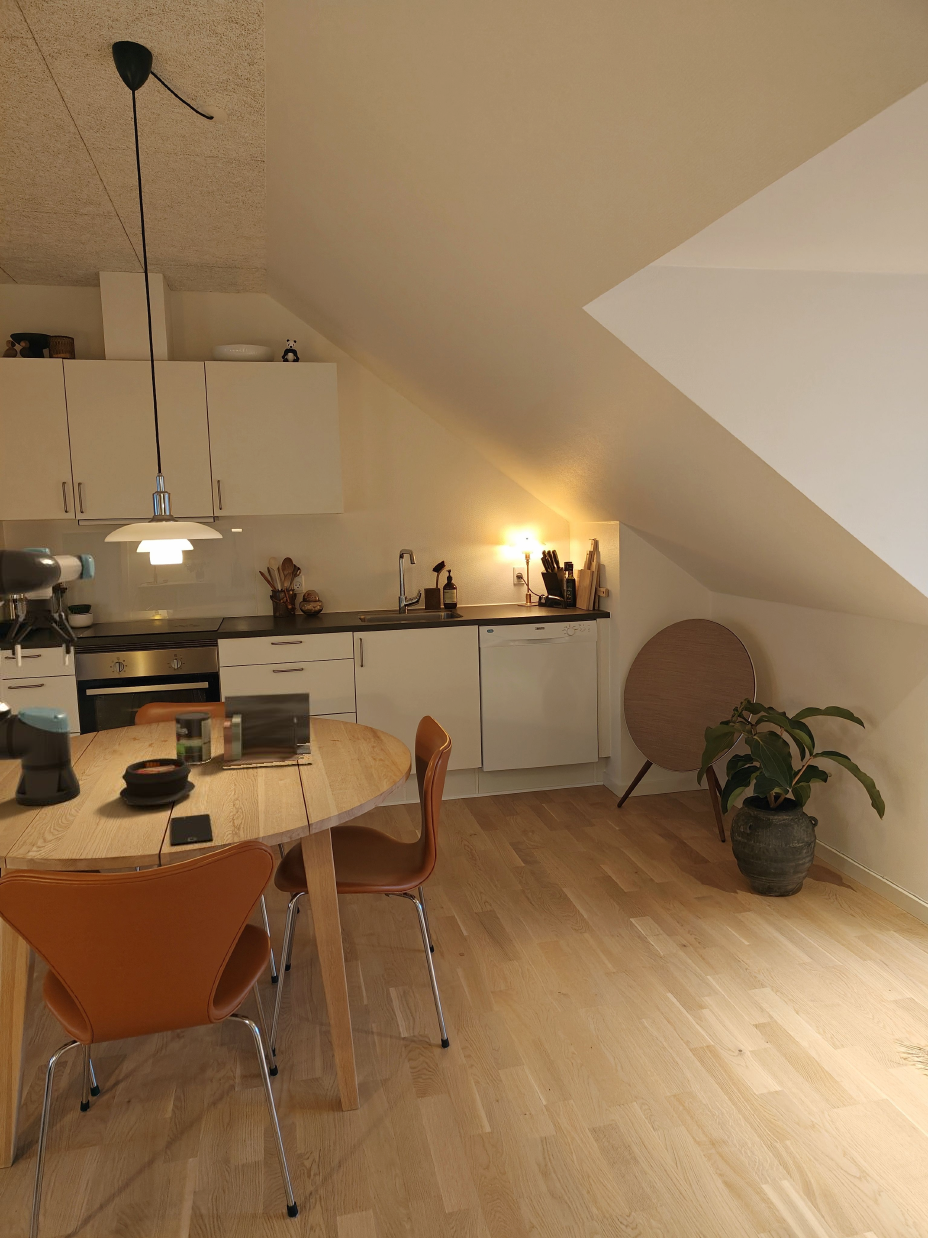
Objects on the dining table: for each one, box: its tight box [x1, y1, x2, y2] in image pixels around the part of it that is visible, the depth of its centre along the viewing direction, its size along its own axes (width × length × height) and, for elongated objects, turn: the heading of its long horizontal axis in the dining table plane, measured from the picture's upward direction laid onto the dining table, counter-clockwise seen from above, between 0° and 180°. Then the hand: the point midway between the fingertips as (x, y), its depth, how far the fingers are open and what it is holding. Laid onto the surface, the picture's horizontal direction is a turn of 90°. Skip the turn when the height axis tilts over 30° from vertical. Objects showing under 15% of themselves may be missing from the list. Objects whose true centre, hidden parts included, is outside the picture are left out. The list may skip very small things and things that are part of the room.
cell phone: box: [170, 813, 214, 847], centre depth 192 cm, size 9×18×1 cm, turn 20°
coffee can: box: [174, 711, 212, 766], centre depth 250 cm, size 10×10×14 cm
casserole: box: [119, 757, 196, 806], centre depth 216 cm, size 25×19×8 cm
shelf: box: [222, 691, 312, 768], centre depth 253 cm, size 20×26×18 cm
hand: (42, 665), depth 258 cm, fingers open, 13 cm apart
